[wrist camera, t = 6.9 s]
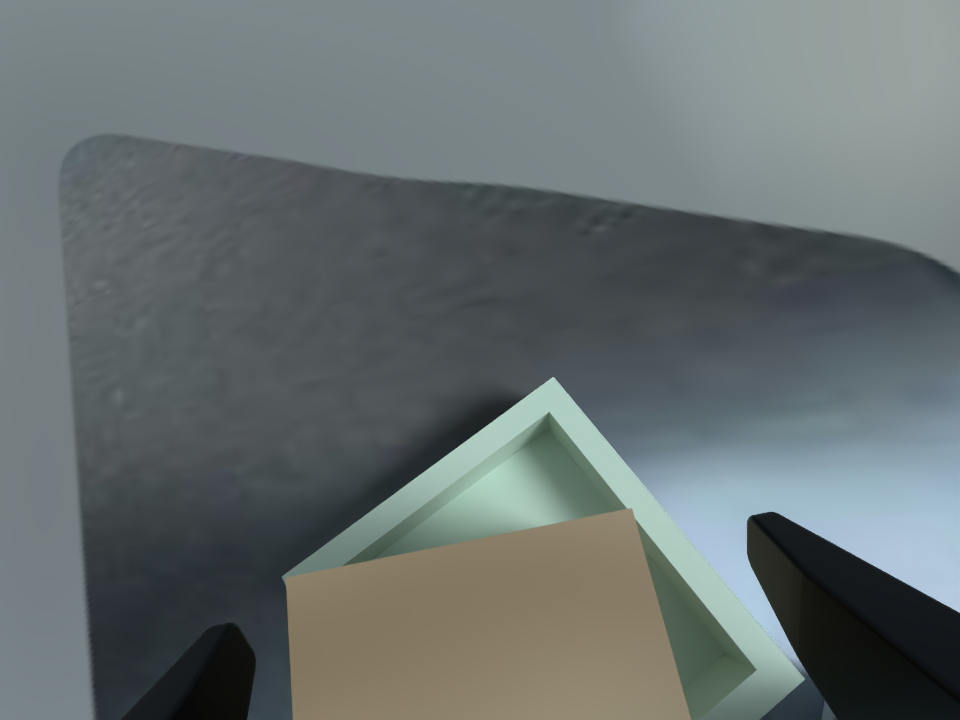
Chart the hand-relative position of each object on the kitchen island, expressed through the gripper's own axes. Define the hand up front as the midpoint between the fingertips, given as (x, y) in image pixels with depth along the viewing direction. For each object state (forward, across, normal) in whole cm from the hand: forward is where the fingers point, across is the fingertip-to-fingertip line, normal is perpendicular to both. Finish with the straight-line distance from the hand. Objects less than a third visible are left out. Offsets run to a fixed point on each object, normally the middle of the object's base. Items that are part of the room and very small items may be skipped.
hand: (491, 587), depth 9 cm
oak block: (+5, 0, +7) cm, 9 cm away
